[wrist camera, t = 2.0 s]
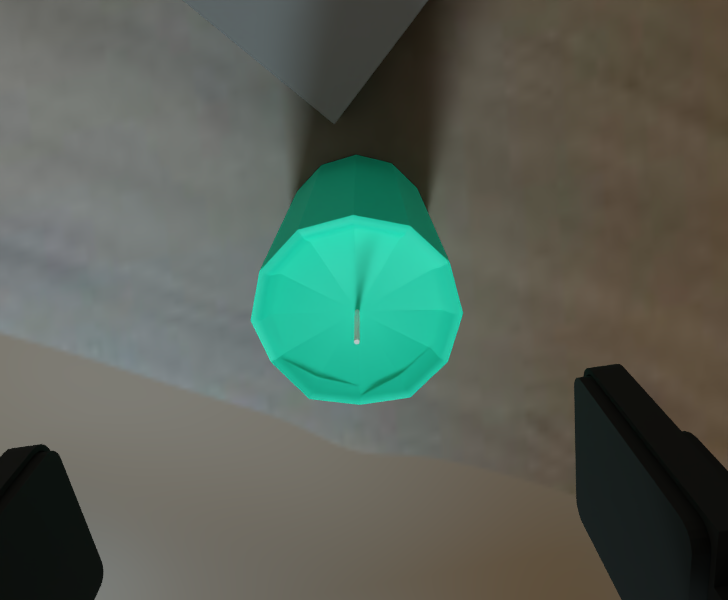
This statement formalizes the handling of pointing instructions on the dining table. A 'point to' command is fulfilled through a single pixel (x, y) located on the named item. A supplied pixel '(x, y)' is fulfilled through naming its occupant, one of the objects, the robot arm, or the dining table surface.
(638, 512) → the robot arm
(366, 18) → the plinth
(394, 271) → the candle
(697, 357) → the dining table surface
